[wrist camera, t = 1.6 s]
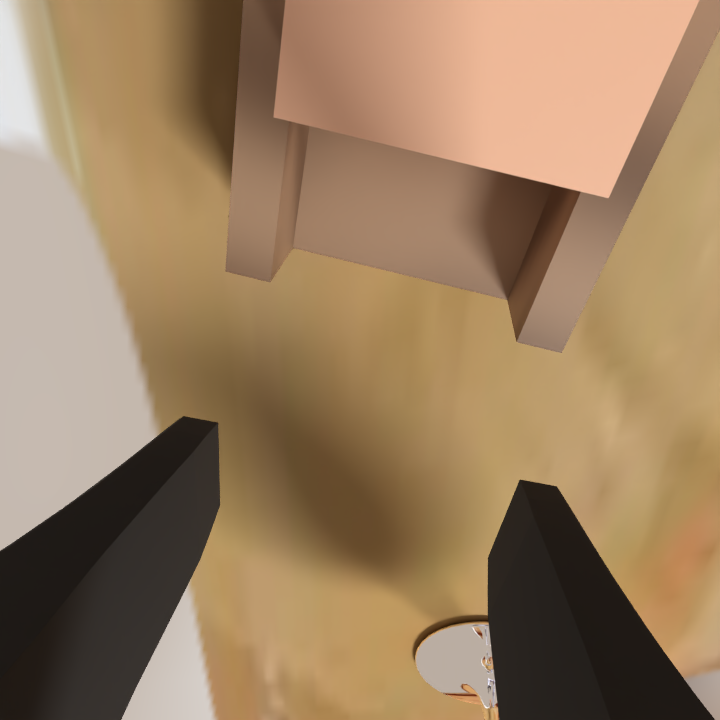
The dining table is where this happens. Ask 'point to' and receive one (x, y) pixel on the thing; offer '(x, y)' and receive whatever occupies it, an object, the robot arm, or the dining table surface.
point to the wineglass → (461, 664)
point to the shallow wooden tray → (431, 197)
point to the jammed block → (484, 78)
